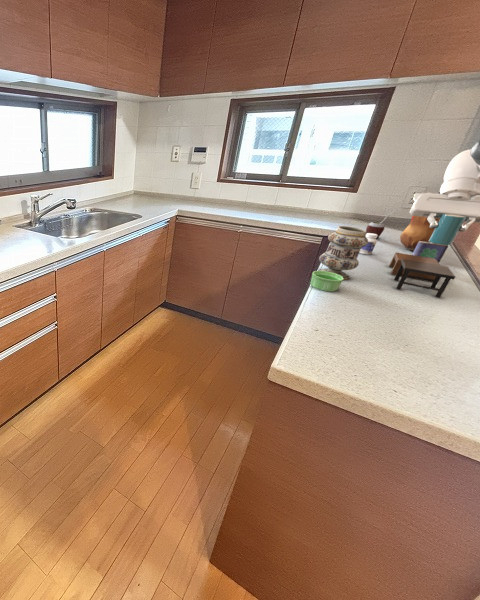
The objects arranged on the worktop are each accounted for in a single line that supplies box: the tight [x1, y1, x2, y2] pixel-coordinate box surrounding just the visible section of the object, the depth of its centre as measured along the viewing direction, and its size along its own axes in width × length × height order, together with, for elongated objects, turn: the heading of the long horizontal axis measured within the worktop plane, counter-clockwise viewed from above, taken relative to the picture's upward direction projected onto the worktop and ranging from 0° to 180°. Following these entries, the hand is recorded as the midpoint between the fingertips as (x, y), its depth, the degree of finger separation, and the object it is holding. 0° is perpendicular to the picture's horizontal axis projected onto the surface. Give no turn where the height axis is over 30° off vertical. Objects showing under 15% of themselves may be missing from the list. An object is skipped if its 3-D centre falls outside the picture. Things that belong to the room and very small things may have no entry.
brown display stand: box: [388, 252, 441, 283], centre depth 126 cm, size 12×12×6 cm
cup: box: [429, 214, 466, 246], centre depth 105 cm, size 5×5×9 cm
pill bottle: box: [359, 233, 378, 255], centre depth 149 cm, size 5×5×9 cm
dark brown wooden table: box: [393, 259, 456, 299], centre depth 113 cm, size 12×12×8 cm
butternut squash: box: [399, 215, 440, 252], centre depth 150 cm, size 14×13×25 cm
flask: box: [411, 241, 449, 264], centre depth 137 cm, size 9×3×11 cm, turn 58°
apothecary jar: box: [317, 225, 368, 280], centre depth 121 cm, size 12×12×18 cm
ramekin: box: [310, 270, 345, 292], centre depth 113 cm, size 9×9×4 cm
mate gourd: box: [365, 211, 397, 240], centre depth 171 cm, size 8×8×15 cm
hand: (447, 228), depth 105 cm, fingers closed on cup, 5 cm apart
